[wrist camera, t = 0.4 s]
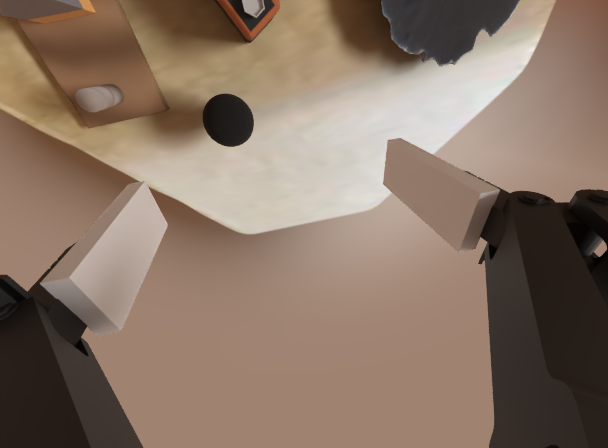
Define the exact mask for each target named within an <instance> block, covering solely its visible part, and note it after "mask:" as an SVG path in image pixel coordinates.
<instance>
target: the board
mask: <svg viewBox="0 0 608 448" xmlns="http://www.w3.org/2000/svg"><path fill="white" fill-rule="evenodd" d="M519 1H520V0H381V5H382V14H383V15H384V16H385V17H386V18H387V19H388V21H389V23H390V27H391V28H390V32H391V40H393V41H394V42H395V43H396V44H397V45H398V46H399V48H401V49H403V51H406V52H407V53H409V54H416V55H419V57H420V58H421V59H422V61H423V62H424V63H425V62H426V61H428V60H431V59H432V60H435V61H436V62H437V64H438V65H439V66H441V67H442V66H445V65H448V64H454V65H455V64H456V63H457V62H458V60H459V59H460V58H461V57H463V56H464V55H466V54H467V53H469V52H471V51H472V49H473V46H474V43H475V40H476V36H477V35H478V34H479V32H480V31H481V30H483V29H485V30H486V32H488V34H489V36H490V37H492V36H493V35H494V34H495V33H497V32H498V31H499V30H500V29H501V27H502V26H503V25H504V24H505V23H506V22H507V21H508V20H509V19H510V17H511V15H512V14H513V12H514V11H515V9H516V8H517V5H518V3H519Z"/></svg>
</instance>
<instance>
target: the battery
mask: <svg viewBox="0 0 608 448" xmlns="http://www.w3.org/2000/svg"><path fill="white" fill-rule="evenodd" d="M215 1H216V3H217V4H218V5H219V7H220V8H221V9H222V11H223V12H224V13H225V15H226V16H227V17H228V19H229V20H230V21H231V22H232V24H233V25H234V26H235V28H236V29H237V30H238V32H239V33H240V34H241V36H242V37H243V38H244V39H245V41H246V42H248V43H251V42H252V41H253V40H254V39H255V38H256V36H257V35H258V34H259V33H260V32H261V31H262V30H263V29H264V28H265V27H266V26H267V24H268V23H269V22H270V21H271V20H272V18H273V17H274V16H275V14H276V13H277V12H278V10H279V8H280V2H279V0H215Z"/></svg>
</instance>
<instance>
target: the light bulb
mask: <svg viewBox="0 0 608 448" xmlns="http://www.w3.org/2000/svg"><path fill="white" fill-rule="evenodd" d="M203 124H204V127H205V129H206V131H207V133H208V134H209V136H210V137H211V138H212V139H213V140H214V141H216V142H217V143H219V144H221V145H224V146H228V147H234V146H238V145H241V144H243V143H244V142H246V141H247V140H248V139H249V137H250V136H251V134H252V131H253V126H254V120H253V115H252V112H251V110H250V108H249V107H248V105H247V104H246V103H245V102H244V101H243V100H242V99H240V98H239V97H237V96H235V95H231V94H219V95H216V96H214V97H213V98H211V99H210V100H209V101H208V102H207V104H206V106H205V108H204V111H203Z"/></svg>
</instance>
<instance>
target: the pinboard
mask: <svg viewBox="0 0 608 448" xmlns="http://www.w3.org/2000/svg"><path fill="white" fill-rule="evenodd" d="M90 2H91V4H92V6H93V8H94V10H95V12H96V13H94V14H89V15H84V16H79V17H74V18H69V19H64V20H59V21H54V22H49V23H39V22H34V21H28V20H23V19H17V18H15V19H16V21H17V22H18V24H19V25H20V27H21V28H22V30H23V31H24V33H25V34H26V36H27V37H28V39H29V40H30V41H31V43H32V44H33V46H34V47H35V49H36V50H37V52H38V53H39V55H40V56H41V58H42V59H43V61H44V62H45V64H46V65H47V67H48V68H49V70H50V71H51V73H52V74H53V76H54V77H55V79H56V80H57V82H58V83H59V85H60V86H61V87H62V89H63V90H64V92H65V93H66V95H67V96H68V98H69V99H70V101H71V102H72V104H73V105H74V107H75V108H76V110H77V111H78V113H79V114H80V116H81V117H82V119H83V120H84V122H85V123H86V125H87V126H88V128H93V127H97V126H102V125H106V124H110V123H115V122H119V121H124V120H128V119H132V118H137V117H141V116H146V115H150V114H154V113H159V112H163V111H167V110H168V109H169V108H168V106H167V104H166V101H165V99H164V97H163V95H162V93H161V91H160V88H159V86H158V84H157V82H156V80H155V78H154V76H153V73H152V71H151V69H150V67H149V65H148V63H147V60H146V58H145V56H144V54H143V52H142V50H141V48H140V45H139V43H138V41H137V39H136V37H135V35H134V32H133V30H132V28H131V26H130V24H129V22H128V20H127V17H126V15H125V13H124V11H123V9H122V7H121V5H120V2H119V0H90Z"/></svg>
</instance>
